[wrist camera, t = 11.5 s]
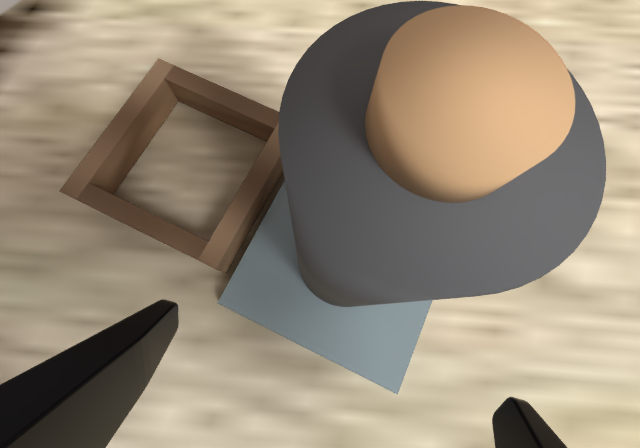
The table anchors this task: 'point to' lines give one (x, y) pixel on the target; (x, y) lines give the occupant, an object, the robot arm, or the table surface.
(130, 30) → the table surface
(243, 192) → the brown square frame
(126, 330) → the robot arm
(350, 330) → the mat
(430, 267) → the grey jar with lid
